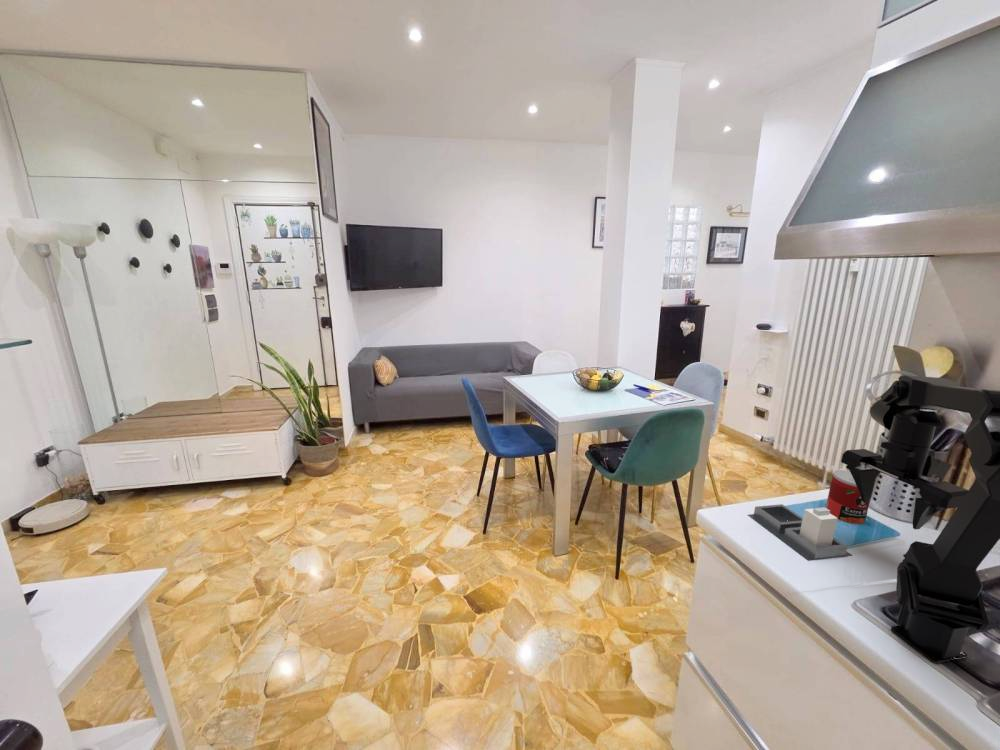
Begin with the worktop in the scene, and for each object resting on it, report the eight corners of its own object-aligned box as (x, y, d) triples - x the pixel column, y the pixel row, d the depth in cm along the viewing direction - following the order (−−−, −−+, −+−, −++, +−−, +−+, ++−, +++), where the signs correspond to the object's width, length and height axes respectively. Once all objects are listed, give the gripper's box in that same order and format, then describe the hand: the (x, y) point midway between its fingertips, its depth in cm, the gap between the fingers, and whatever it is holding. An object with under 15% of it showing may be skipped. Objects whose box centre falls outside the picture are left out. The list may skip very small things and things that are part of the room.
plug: (830, 551, 87) (839, 514, 85) (814, 553, 87) (822, 515, 85) (813, 539, 91) (821, 503, 89) (797, 541, 91) (805, 505, 89)
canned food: (840, 526, 98) (850, 485, 95) (816, 508, 105) (825, 469, 103) (873, 527, 97) (884, 485, 95) (846, 509, 105) (856, 470, 103)
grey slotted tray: (852, 558, 86) (855, 546, 86) (807, 564, 85) (810, 551, 84) (785, 514, 103) (787, 503, 102) (746, 517, 101) (748, 506, 100)
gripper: (1010, 460, 69) (983, 540, 73) (890, 422, 87) (874, 488, 91) (957, 464, 67) (932, 546, 71) (846, 424, 85) (831, 492, 89)
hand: (889, 515), depth 80 cm, fingers open, 9 cm apart
